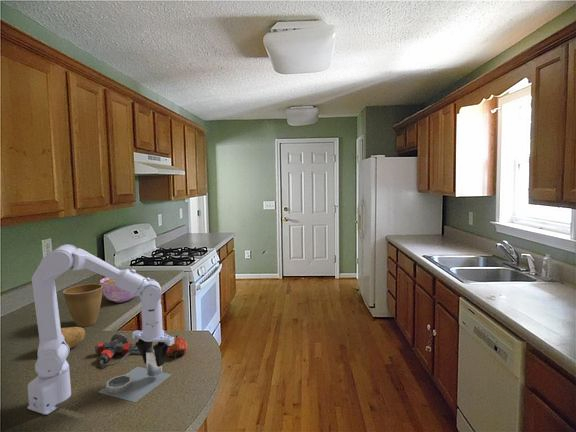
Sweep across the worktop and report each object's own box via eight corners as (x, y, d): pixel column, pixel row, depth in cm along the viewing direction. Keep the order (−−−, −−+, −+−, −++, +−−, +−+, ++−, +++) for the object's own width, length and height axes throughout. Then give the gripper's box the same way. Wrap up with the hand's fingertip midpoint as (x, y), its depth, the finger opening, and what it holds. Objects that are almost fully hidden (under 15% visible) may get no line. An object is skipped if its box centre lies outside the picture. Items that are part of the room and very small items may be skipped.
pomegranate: (188, 366, 121) (192, 339, 129) (181, 356, 116) (185, 329, 124) (166, 368, 122) (172, 341, 129) (159, 359, 117) (165, 331, 124)
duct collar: (118, 396, 99) (118, 390, 99) (101, 391, 102) (100, 385, 102) (137, 383, 106) (136, 377, 105) (120, 378, 108) (119, 373, 108)
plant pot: (107, 315, 164) (105, 282, 162) (101, 327, 150) (99, 291, 148) (71, 319, 159) (68, 285, 158) (61, 332, 145) (58, 295, 143)
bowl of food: (92, 305, 178) (90, 283, 177) (117, 293, 197) (116, 273, 196) (127, 307, 174) (126, 284, 173) (150, 294, 194) (149, 274, 193)
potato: (85, 350, 129) (83, 329, 128) (39, 359, 123) (37, 337, 123) (87, 340, 138) (86, 320, 137) (44, 347, 132) (43, 326, 132)
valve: (78, 373, 118) (105, 346, 132) (153, 379, 115) (171, 351, 130) (76, 357, 116) (103, 331, 131) (151, 362, 114) (170, 336, 128)
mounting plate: (135, 405, 96) (135, 402, 96) (98, 395, 102) (97, 391, 101) (172, 377, 110) (171, 374, 110) (137, 369, 115) (137, 366, 115)
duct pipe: (155, 377, 105) (154, 354, 105) (143, 374, 107) (142, 352, 106) (165, 369, 110) (164, 348, 109) (154, 367, 111) (153, 345, 110)
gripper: (180, 319, 108) (181, 361, 109) (143, 313, 113) (145, 353, 114) (164, 328, 101) (166, 373, 102) (125, 321, 106) (128, 364, 108)
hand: (154, 363), depth 108 cm, fingers closed on duct pipe, 4 cm apart
